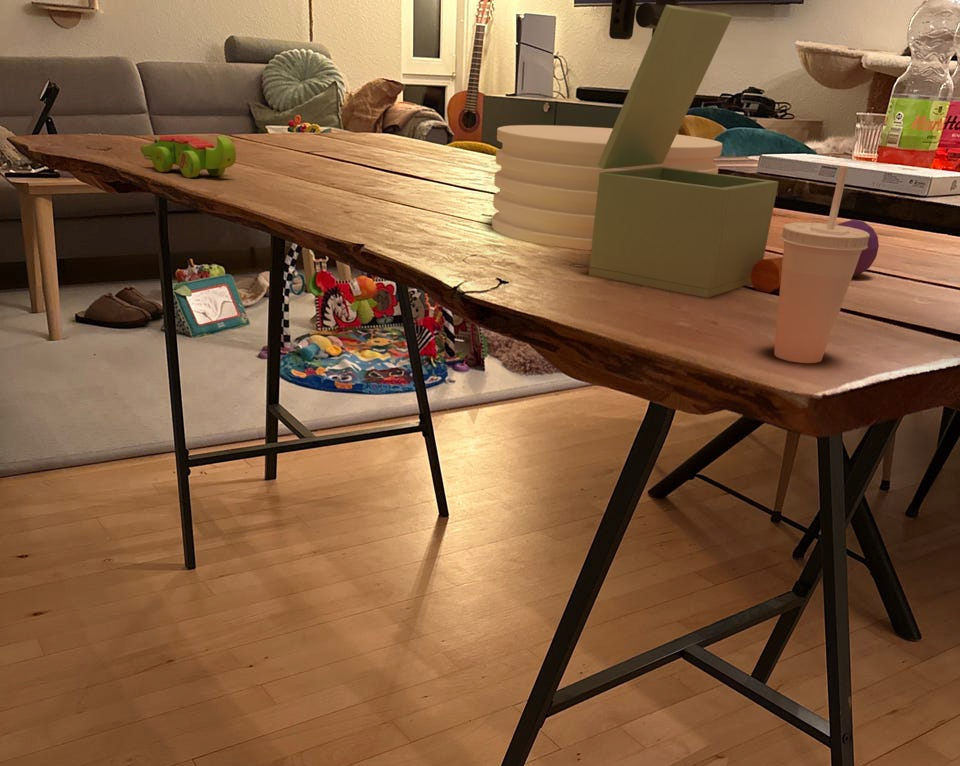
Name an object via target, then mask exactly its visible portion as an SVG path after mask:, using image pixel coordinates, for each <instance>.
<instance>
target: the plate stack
mask: <svg viewBox="0 0 960 766" xmlns="http://www.w3.org/2000/svg"><path fill="white" fill-rule="evenodd" d="M612 130H613V128H612V127H611V128H610V127H596V126H595V127H594V126H577V125H552V124H551V125H549V124H518V125H517V124H515V125H503V126H499V127H497V130H496V131H497V132H496V141H498V142H500V143H501V144H502V145H501V146H502V148H499V149H496V151H495V163H496V164H497V165H498V166H501V167H500V170H497V171H495V173H494V181H493V182H494V183H493V184H494V186H495V187H496V188H497V189H499V191H497V192H496V193H494V194H493V198H492V199H493V202H492V206H493V208H494V209H495V210H496V211H498V212H495V213H494V214H493V215H492V217H491V219H492V221H491V227H492V229H493V230H494V231H495V232H497V233H498V234H501V235H504V236H505V237H506V236H507V237H509V238H513V239H517V240H520V241H525V242H528V243H535V244H540V245H545V246H552V247H558V248H566V249H567V248H568V249H574V250H585V251H591V248H592V238H593V229H594V220H595V210H596V201H597V192H598V183H599V174H600V173H602V172H612V171H622V170H632V169H642V168H652V167H666V168H674V169H682V170H690V171H698V172H706V173H714V174H719V167H720V166H719V165H718V164H716V163H714V159H715V158H718V157H720V156H722V149H723V142H720V141H718V140H715V139H710V138H705V137H697V136H693V135H685V134H677V135H676V137H675V139H674V141H673V143H672V145H671V147H670V149H669V152H668V154H667V156H666V158H665V160H664V162H663V164H653V165H642V166H632V167H621V168H611V169H602V168H600V167H599V166H597V165H598V162H599V160H600V158H601V155H602V153H603V151H604V148H605V146H606V144H607V141H608V139H609V137H610V134H611V132H612Z"/></svg>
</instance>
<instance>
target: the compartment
mask: <svg viewBox="0 0 960 766" xmlns="http://www.w3.org/2000/svg"><path fill="white" fill-rule="evenodd" d="M778 187H779V181H777V180H769V179H761V178H755V177H745V176H738V175H729V174H723V173H718V174H714V173H706V172H698V171H690V170H682V169H674V168H666V167H652V168H642V169H632V170H622V171H612V172H602V173H600V174H599V183H598V192H597V201H596V210H595V220H594V229H593V238H592V248H591V250H590V257H589V258H590V259H589V268H588V275H589V276H594V277H599V278H604V279H607V280H614V281H620V282H624V283H628V284H635V285H639V286H640V285H641V286H645V287H650V288H656V289H660V290H665V291H669V292H676V293H681V294H686V295H690V296H696V297H701V298H707V299H708V298H711V297H714V296H718V295H720V294H724V293H727V292H729V291H732V290H735V289H739V288H742V287H744V286H748V285H753V284H752V281H751V272H752V269H753V267H754V265H755V264H756V263H757V262H758V261H760V260H763V259H765V253H766V248H767V242H768V238H769V233H770V228H771V223H772V217H773V212H774V207H775V202H776V198H777V192H778Z"/></svg>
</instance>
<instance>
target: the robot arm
mask: <svg viewBox="0 0 960 766" xmlns="http://www.w3.org/2000/svg"><path fill="white" fill-rule="evenodd" d="M637 2H638V1H637V0H611V11H610V18H609V30H608V36H609V38H611V39H612V40H625V41H627V40H631V39H632V37H633V34H634V26H635V19H636V11H637V9H636V8H637ZM655 4H660V5H673V6H680V0H655ZM654 32H655V29H652V31H651V37H652V36H653V34H654Z"/></svg>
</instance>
